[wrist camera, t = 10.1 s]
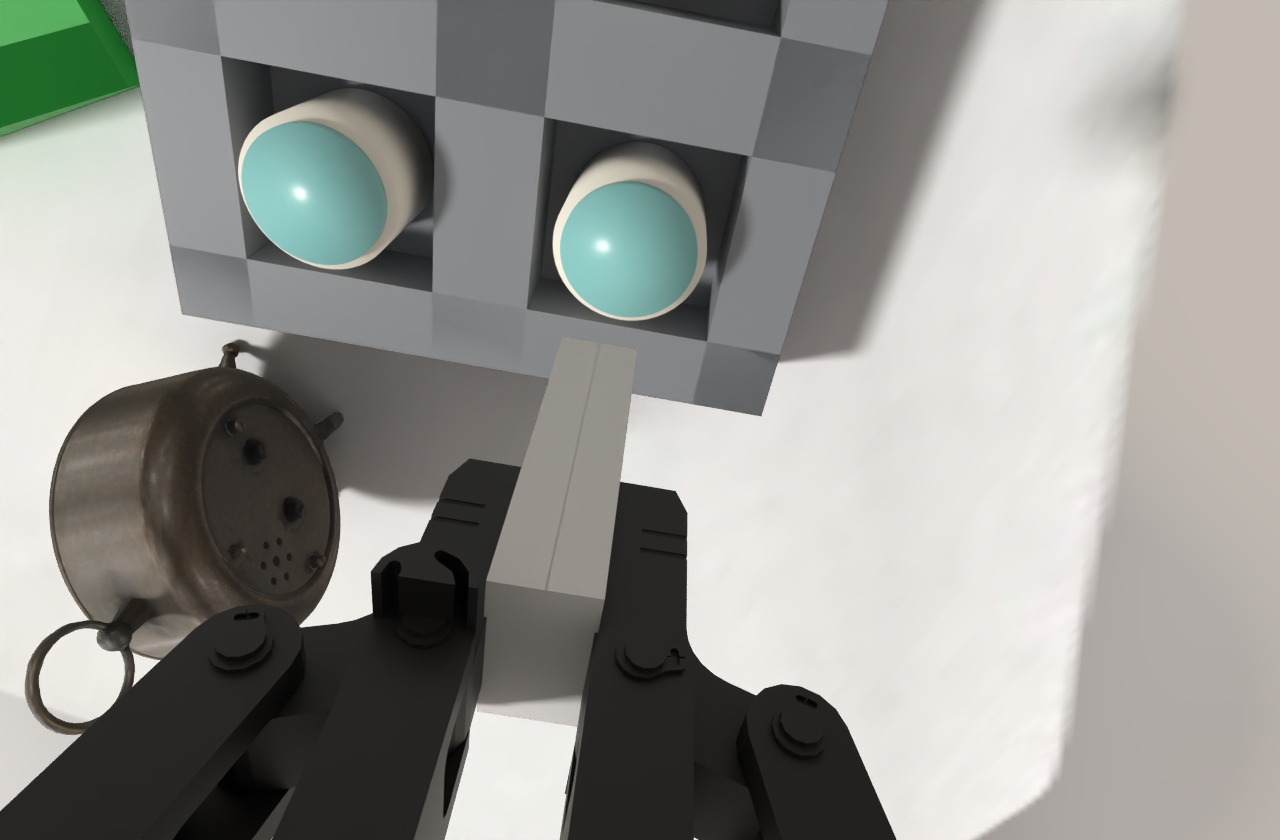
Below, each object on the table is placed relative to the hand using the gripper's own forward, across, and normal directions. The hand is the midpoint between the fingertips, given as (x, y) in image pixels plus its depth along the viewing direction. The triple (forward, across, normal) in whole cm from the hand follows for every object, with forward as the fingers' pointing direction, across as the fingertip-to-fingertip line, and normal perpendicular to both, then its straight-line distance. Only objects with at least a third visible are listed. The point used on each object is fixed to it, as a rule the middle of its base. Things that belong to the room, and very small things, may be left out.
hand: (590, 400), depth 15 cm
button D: (+14, -10, -1) cm, 17 cm away
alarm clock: (+15, -14, -14) cm, 25 cm away
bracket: (+16, -25, +1) cm, 30 cm away
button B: (+14, 0, -1) cm, 14 cm away
